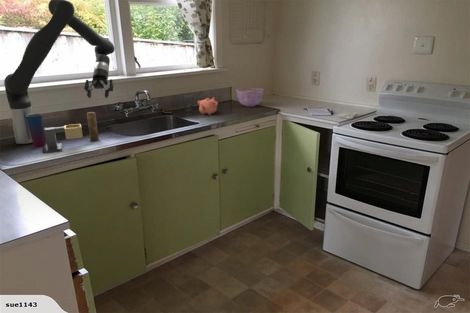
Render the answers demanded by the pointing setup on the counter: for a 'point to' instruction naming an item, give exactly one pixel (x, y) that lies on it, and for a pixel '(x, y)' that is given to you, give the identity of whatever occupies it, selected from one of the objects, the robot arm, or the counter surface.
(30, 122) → the cup
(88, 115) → the rail post
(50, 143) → the cup bracket
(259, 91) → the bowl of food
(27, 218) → the counter surface
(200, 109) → the orange lumpy ball
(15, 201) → the counter surface
